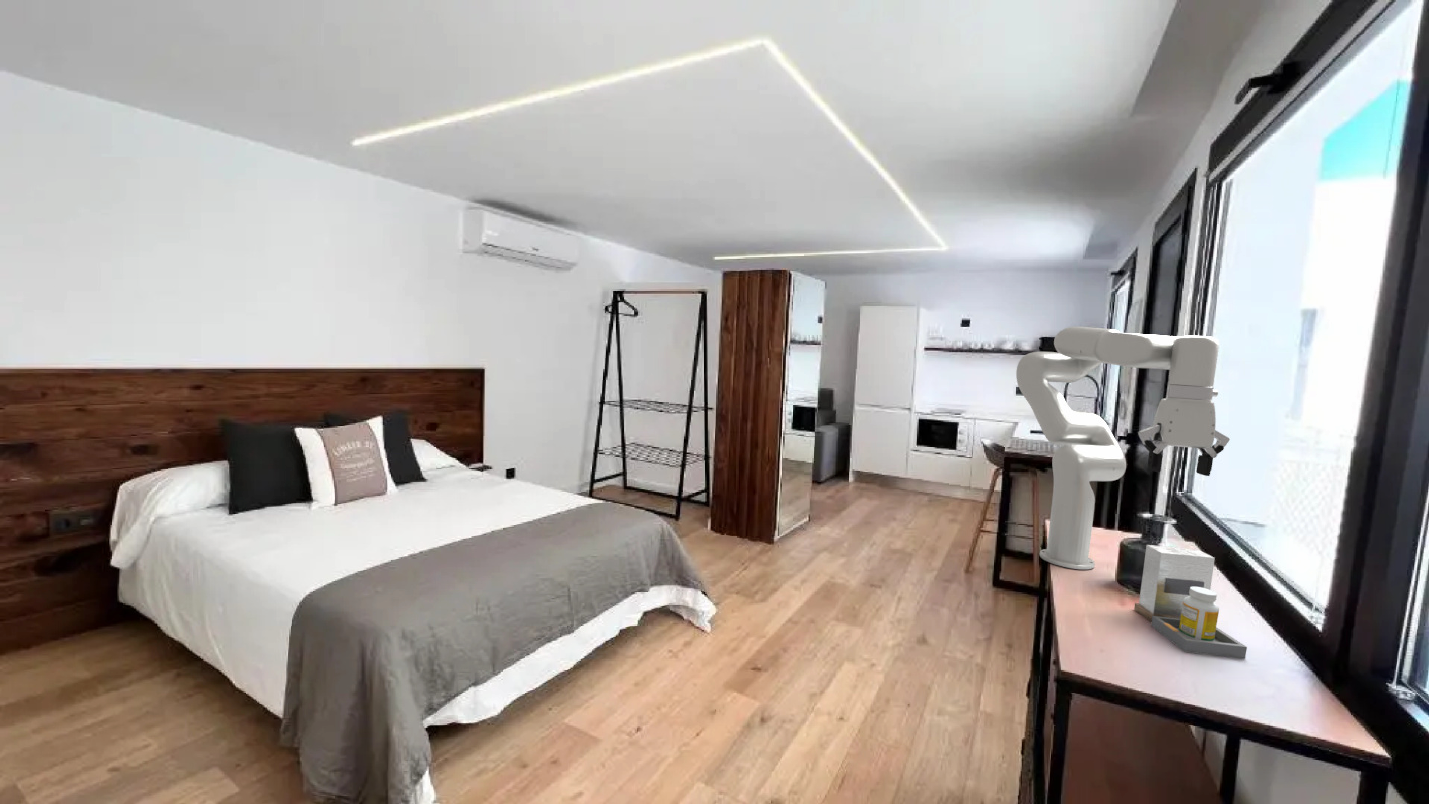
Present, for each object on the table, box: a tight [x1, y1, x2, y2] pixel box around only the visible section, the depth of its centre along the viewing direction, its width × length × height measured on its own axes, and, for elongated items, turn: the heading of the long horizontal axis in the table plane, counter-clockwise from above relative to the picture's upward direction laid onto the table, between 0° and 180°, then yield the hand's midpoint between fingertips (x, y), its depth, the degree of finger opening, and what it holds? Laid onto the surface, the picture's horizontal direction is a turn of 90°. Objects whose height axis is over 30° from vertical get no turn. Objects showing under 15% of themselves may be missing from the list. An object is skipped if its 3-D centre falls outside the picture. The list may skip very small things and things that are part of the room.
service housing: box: [1133, 544, 1216, 623], centre depth 121 cm, size 6×11×15 cm, turn 82°
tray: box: [1150, 616, 1248, 659], centre depth 112 cm, size 10×10×2 cm
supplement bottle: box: [1179, 586, 1220, 642], centre depth 112 cm, size 5×5×10 cm
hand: (1178, 472), depth 125 cm, fingers open, 9 cm apart
